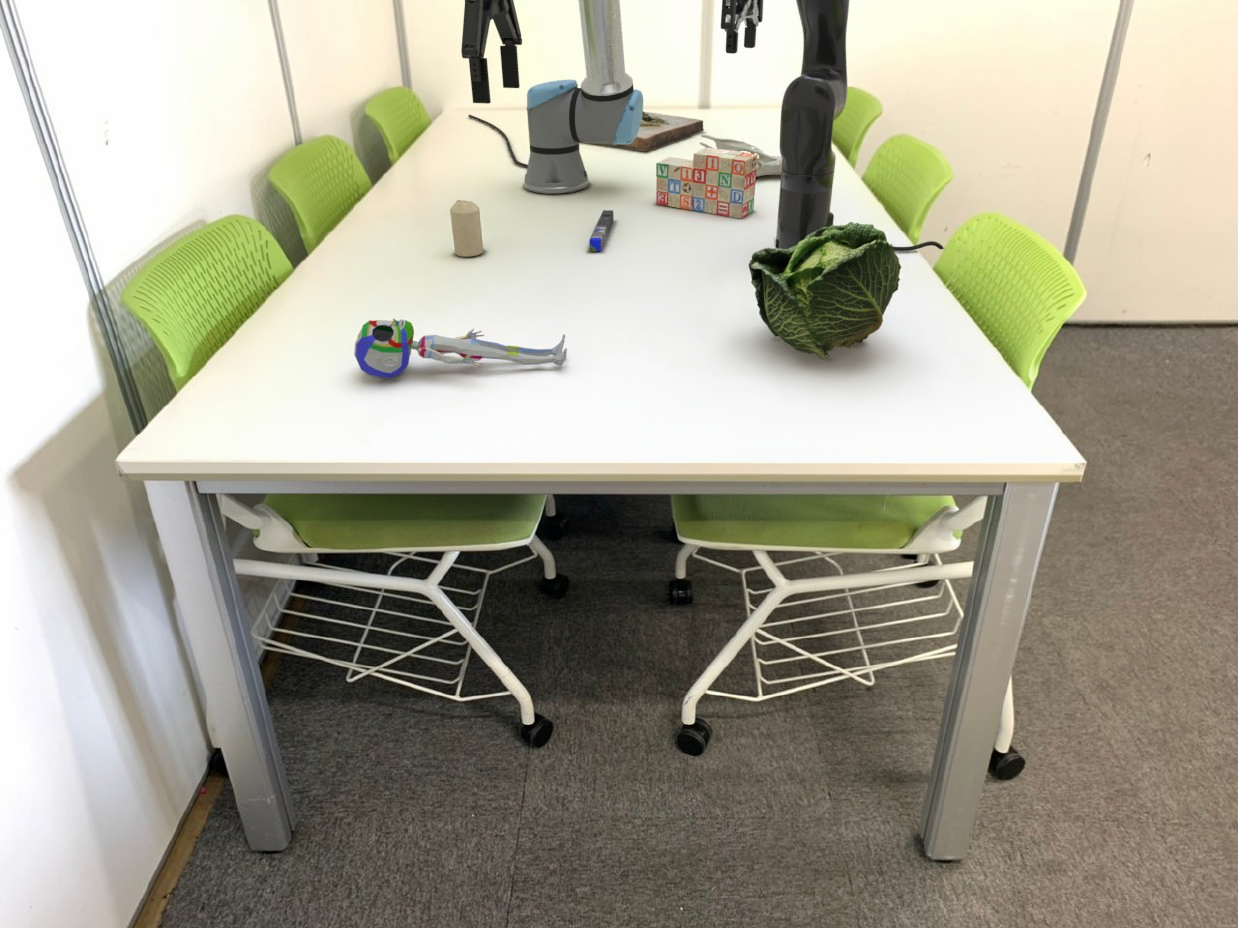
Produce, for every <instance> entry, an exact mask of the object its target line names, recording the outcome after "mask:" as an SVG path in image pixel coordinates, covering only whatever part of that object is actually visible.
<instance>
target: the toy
mask: <svg viewBox="0 0 1238 928" xmlns="http://www.w3.org/2000/svg"><path fill="white" fill-rule="evenodd" d="M474 331H475V328H472V329H471V330H469V331H468V332H467V333H466V334H465V335H463V336H458V337H449V336H448V337H447V336H442V335H439V334H428V335H423V336H421V338H420V339H419V341H417V340H414V336H415V329H414V326H413V324H412V322H410V321H408V320H407V319H399V320H397V319H395V318H392V320H387V319H379V320H368V321H367V322H365V323H364V324H362V326H361V329H360V331H359V333H358V334H357V338H356V340H355V342H354V354H353V355H354V357H355V359H356V362H357V364H358V366H359V369H360V370H361V372H364V373H366V374H367V375H370V376H373V377H377V378H382V379H383V378H384V379H392V378H394V377H396V376H398V375H400V374H401V375H402V374H403V372H404V371H405V370H406V368H407V367H408V366H409V364H410V357H411V355H412V350H415V351H417V353H418V356H419V357H421V358H422V359H430V360H434V361H438V362H442V363H444V364H449V365H458V364H459V365H461V364H465V365H471V366H477V367H479V368H480V367H481V366H482V365H483V363H482V362H478V361H480V360H482V359H487V360H488V359H489V360H503V361H509V362H514V363H517V364H520V365H528V366H529V365H542V364H550V363H553V364H555V365H557V366H559V367H562V366H563V364H564V362H565V361H566V360H567V357H568V355H567V353H568V348H566V347H565V348H564V345H565V340H566V334H565V333H563V334H562V338H561V340H560V341H559V343H558V344H556V345H555V346H554V347H552V348H533V347H532V348H531V347H523V346H518V345H517V346H516V345H504V344H501V343H498V342H494V341H488V340H482V339H478V338H479V337H480V338H481V337H485V334H480V333H482V332H483V331H482V330H479V331H476V332H474ZM563 349H564V350H563ZM453 353H455V354H457V355H459V357H458V356H455V355H448V354H453ZM445 354H447V355H445Z"/></svg>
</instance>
